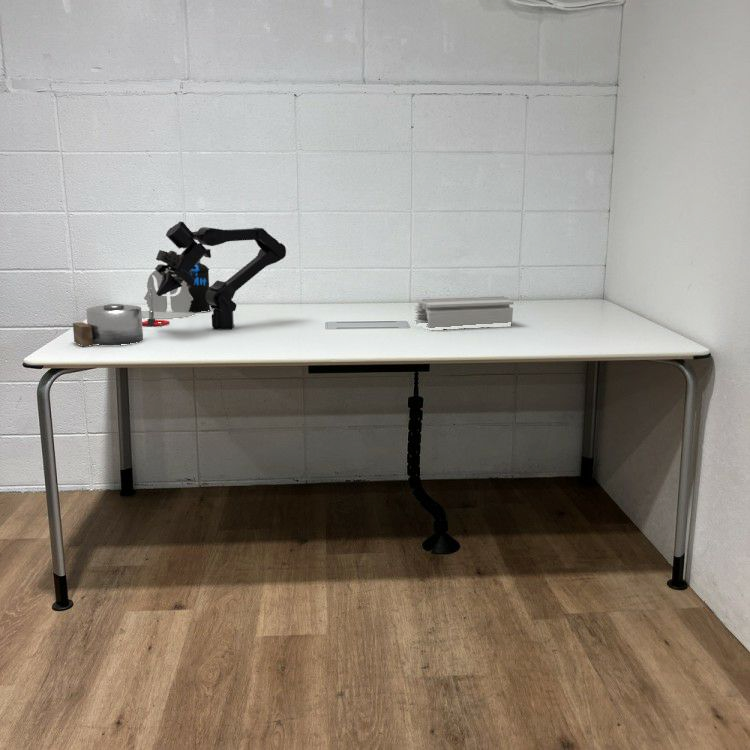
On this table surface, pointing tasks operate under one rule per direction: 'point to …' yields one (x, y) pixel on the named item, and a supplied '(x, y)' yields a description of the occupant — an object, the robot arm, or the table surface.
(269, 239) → the robot arm
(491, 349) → the table surface
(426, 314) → the aluminum extrusion profile
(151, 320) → the tow hook
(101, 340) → the cylinder
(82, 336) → the walnut block
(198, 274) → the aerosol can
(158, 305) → the ornament
